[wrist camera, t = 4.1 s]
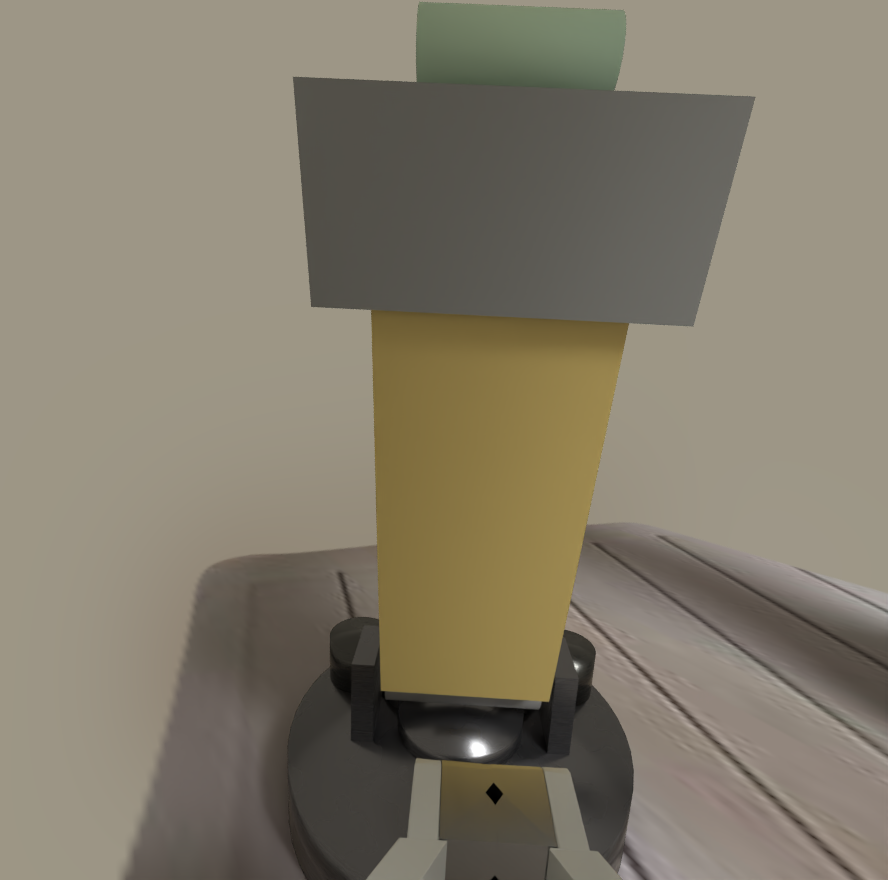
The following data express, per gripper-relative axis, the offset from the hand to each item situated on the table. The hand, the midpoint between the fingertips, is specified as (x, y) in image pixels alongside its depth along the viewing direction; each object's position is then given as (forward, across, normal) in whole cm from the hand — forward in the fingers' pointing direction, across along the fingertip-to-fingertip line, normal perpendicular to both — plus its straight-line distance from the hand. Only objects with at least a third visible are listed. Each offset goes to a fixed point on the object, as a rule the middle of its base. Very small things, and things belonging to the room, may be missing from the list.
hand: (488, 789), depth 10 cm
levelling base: (+13, 0, +13) cm, 18 cm away
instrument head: (+14, 0, +8) cm, 17 cm away
